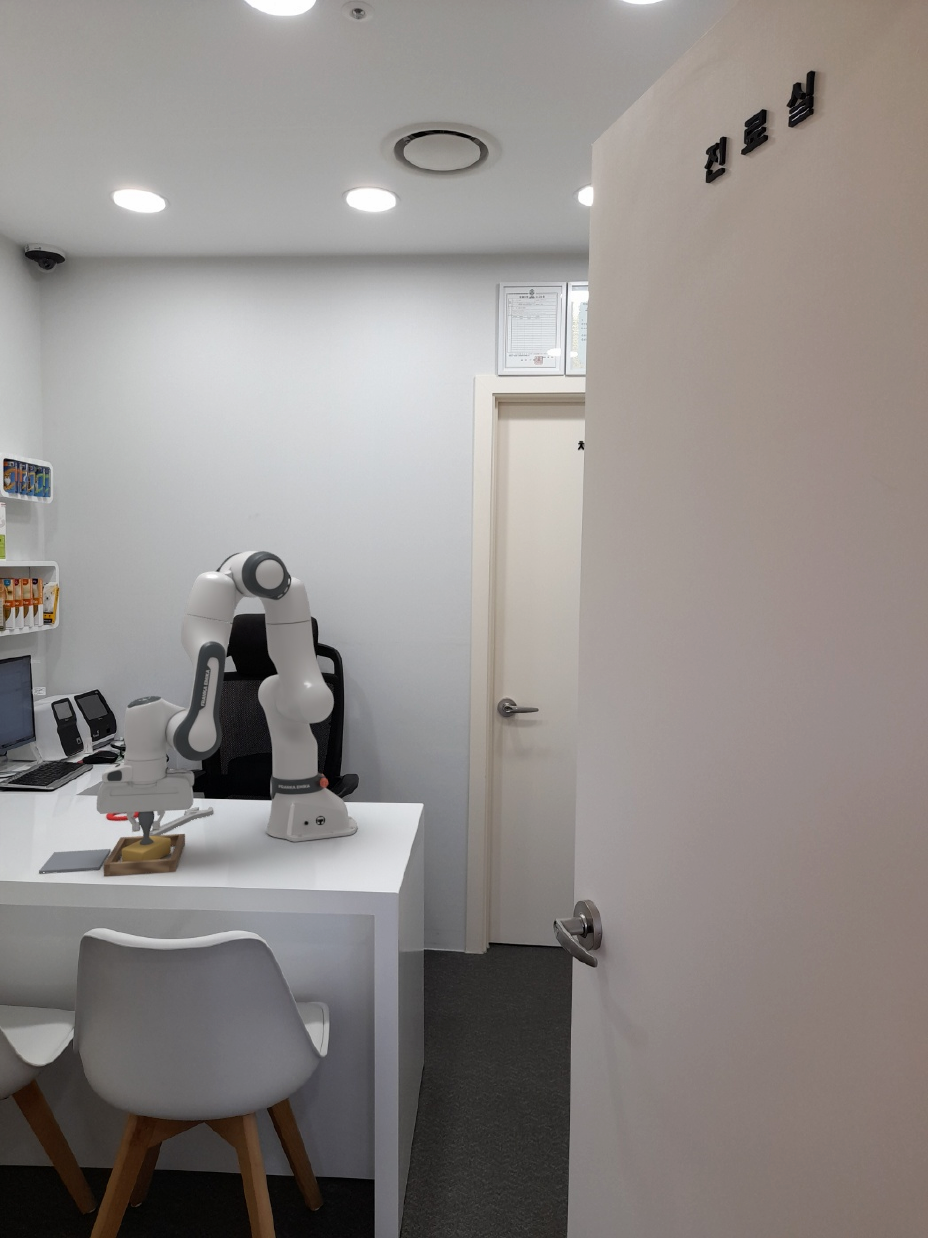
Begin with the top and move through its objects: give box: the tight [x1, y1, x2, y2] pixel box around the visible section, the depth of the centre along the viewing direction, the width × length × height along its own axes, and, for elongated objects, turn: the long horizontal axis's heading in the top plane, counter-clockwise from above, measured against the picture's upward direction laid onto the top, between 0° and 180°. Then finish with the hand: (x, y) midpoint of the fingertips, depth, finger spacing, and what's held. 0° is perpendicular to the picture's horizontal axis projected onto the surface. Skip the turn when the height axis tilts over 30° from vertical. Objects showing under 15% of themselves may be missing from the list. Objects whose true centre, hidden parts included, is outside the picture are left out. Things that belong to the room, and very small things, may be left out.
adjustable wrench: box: [142, 806, 214, 836], centre depth 211 cm, size 25×6×2 cm, turn 158°
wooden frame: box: [103, 833, 186, 877], centre depth 185 cm, size 14×18×2 cm
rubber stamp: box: [121, 811, 172, 862], centre depth 185 cm, size 10×6×12 cm, turn 163°
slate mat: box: [38, 848, 112, 874], centre depth 183 cm, size 12×12×1 cm
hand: (146, 830), depth 185 cm, fingers closed on rubber stamp, 3 cm apart
